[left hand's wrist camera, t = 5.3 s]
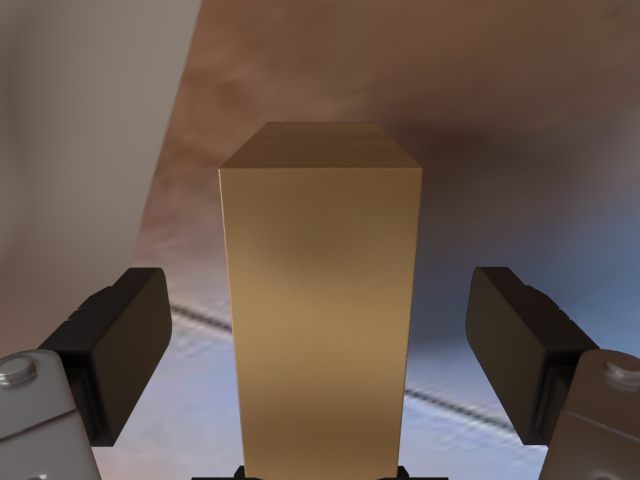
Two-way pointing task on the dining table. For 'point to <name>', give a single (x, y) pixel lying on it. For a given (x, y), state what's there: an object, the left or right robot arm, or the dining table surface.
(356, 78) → the dining table surface
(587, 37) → the dining table surface
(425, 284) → the dining table surface
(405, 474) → the right robot arm
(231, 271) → the box
